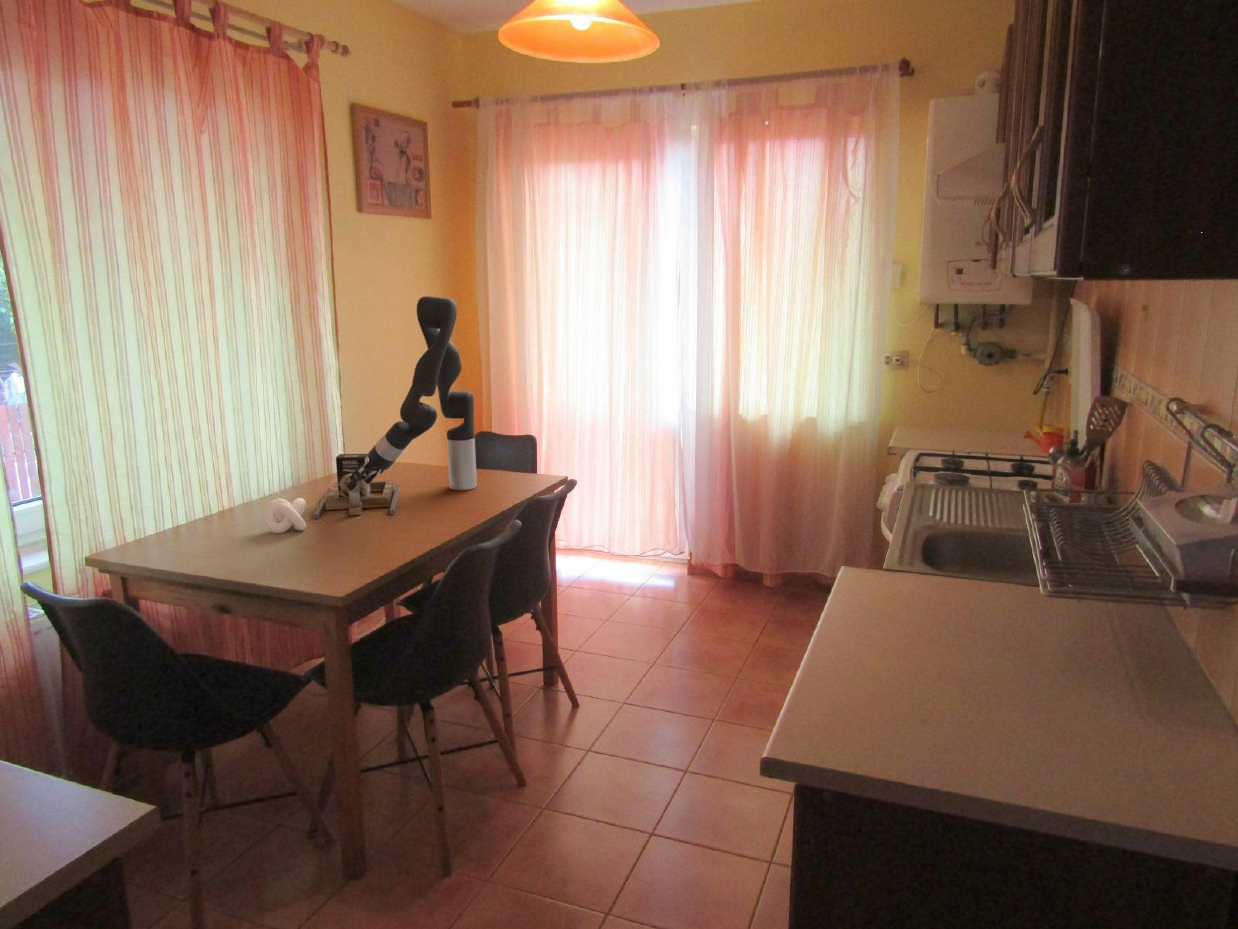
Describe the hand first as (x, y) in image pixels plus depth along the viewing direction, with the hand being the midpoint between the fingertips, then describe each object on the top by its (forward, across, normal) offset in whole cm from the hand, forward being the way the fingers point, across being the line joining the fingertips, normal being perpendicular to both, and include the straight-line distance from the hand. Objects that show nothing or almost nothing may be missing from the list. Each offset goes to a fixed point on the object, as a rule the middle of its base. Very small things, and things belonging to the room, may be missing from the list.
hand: (357, 485), depth 263 cm
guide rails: (+12, -11, +1) cm, 16 cm away
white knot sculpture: (+14, +21, 0) cm, 25 cm away
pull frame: (+12, -11, +1) cm, 17 cm away
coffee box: (+13, -9, +1) cm, 16 cm away
